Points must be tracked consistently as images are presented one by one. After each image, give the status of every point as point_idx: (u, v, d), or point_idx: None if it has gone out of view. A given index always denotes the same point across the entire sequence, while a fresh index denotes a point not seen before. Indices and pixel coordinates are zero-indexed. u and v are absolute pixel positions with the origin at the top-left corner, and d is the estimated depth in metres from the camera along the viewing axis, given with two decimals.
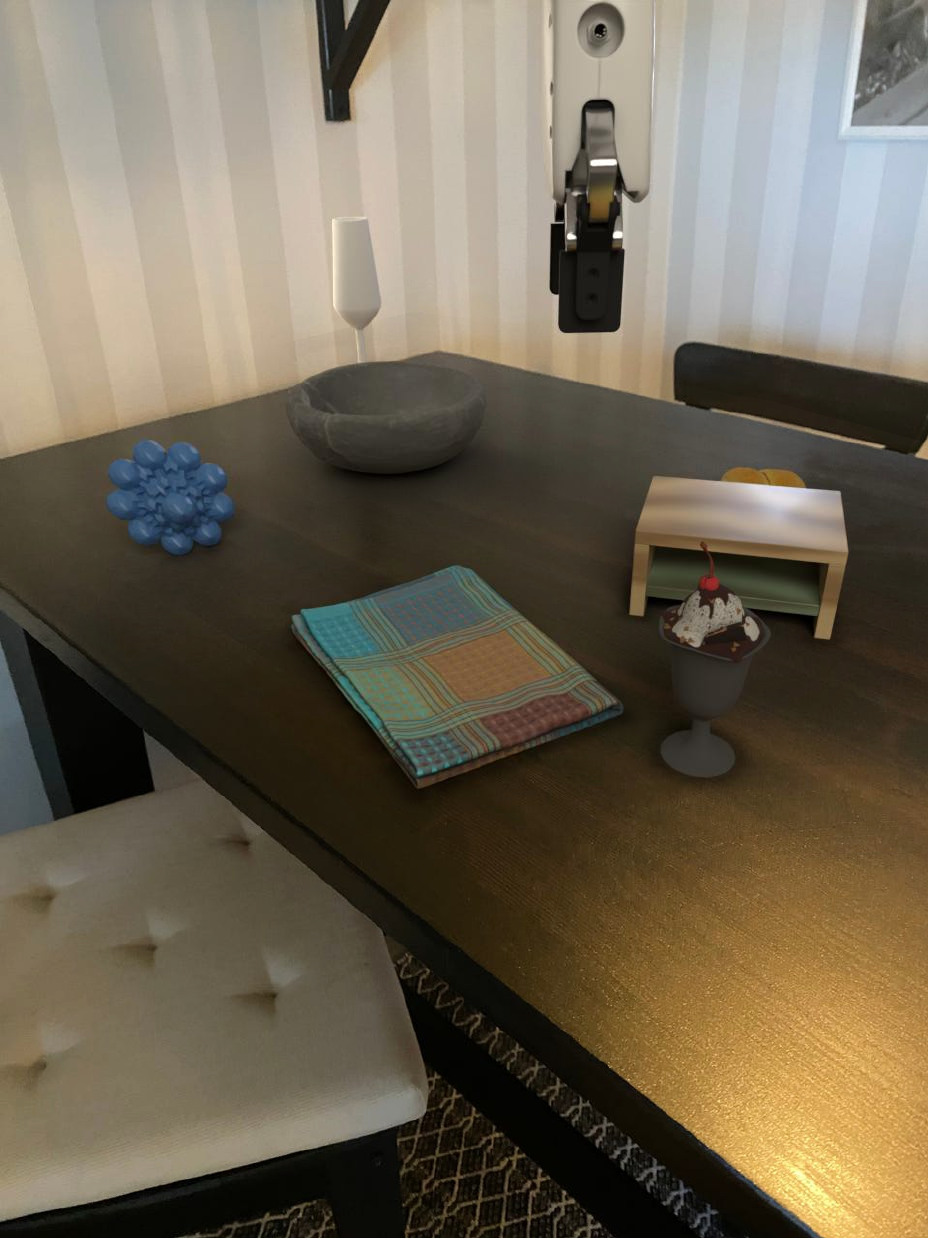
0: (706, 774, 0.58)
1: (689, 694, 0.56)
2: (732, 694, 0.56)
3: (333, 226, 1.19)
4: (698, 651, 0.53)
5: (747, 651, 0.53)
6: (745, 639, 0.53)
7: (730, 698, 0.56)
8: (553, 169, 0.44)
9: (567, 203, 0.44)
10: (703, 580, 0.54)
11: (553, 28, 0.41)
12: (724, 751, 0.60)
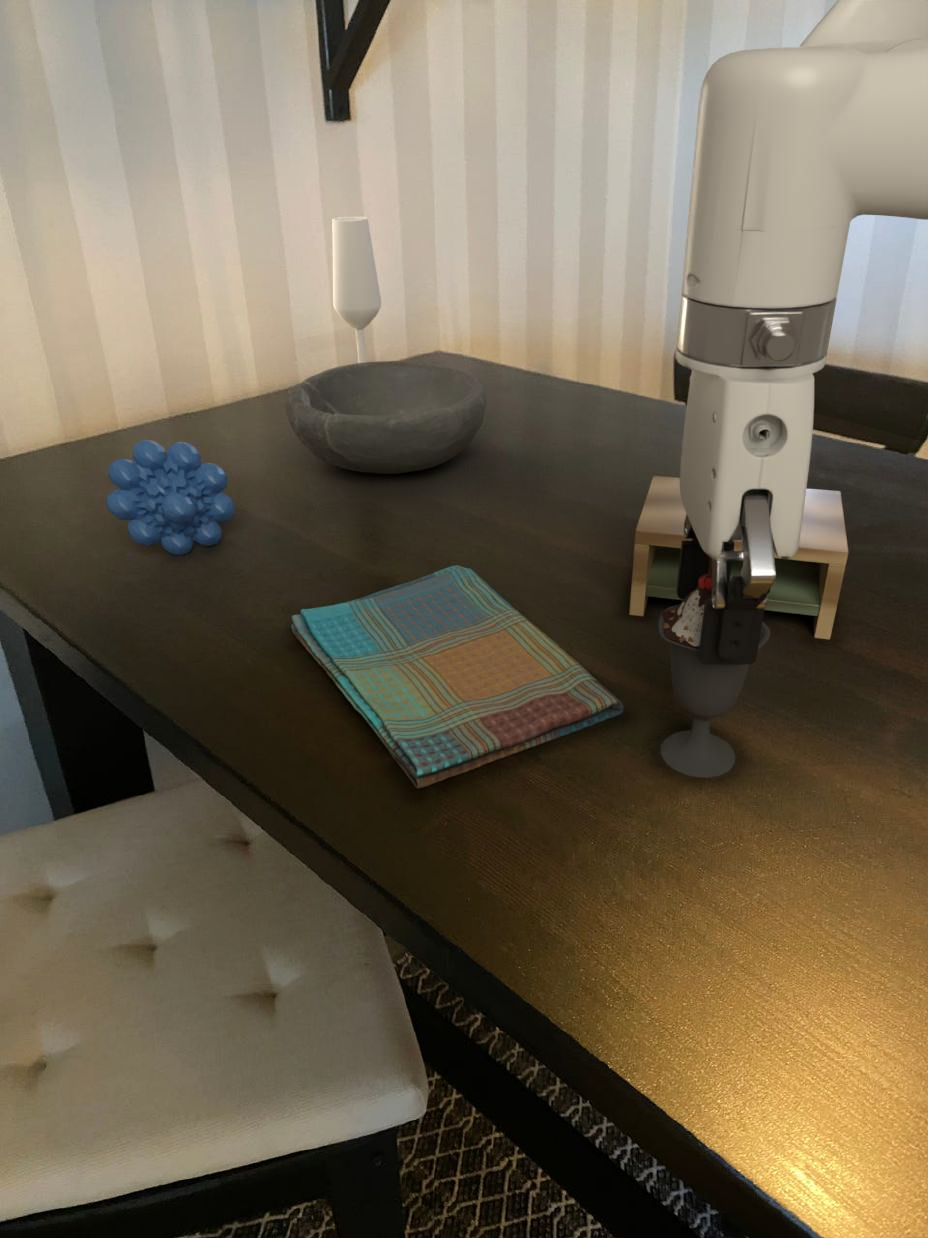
0: (706, 774, 0.58)
1: (689, 694, 0.56)
2: (732, 693, 0.56)
3: (333, 226, 1.19)
4: (698, 650, 0.53)
5: None
6: None
7: (730, 697, 0.56)
8: (710, 537, 0.47)
9: (717, 570, 0.49)
10: (703, 579, 0.54)
11: (718, 428, 0.45)
12: (724, 751, 0.60)
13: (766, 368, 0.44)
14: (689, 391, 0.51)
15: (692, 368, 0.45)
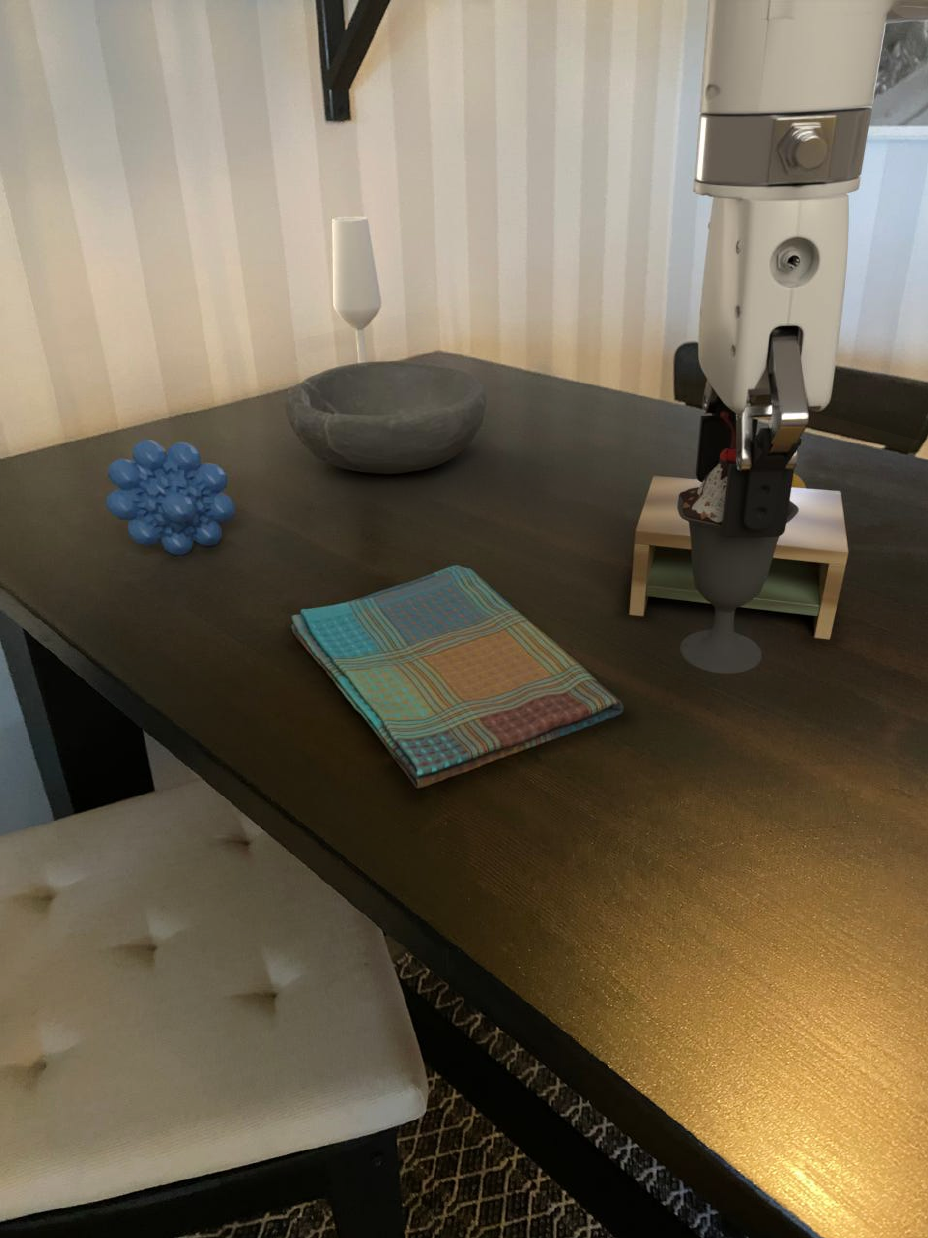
0: (730, 669, 0.54)
1: (711, 579, 0.52)
2: (758, 577, 0.52)
3: (333, 226, 1.19)
4: (721, 525, 0.49)
5: None
6: None
7: (755, 582, 0.52)
8: (734, 386, 0.43)
9: (742, 426, 0.45)
10: (725, 451, 0.50)
11: (743, 257, 0.41)
12: (749, 647, 0.56)
13: (795, 185, 0.40)
14: (708, 238, 0.47)
15: (712, 194, 0.41)
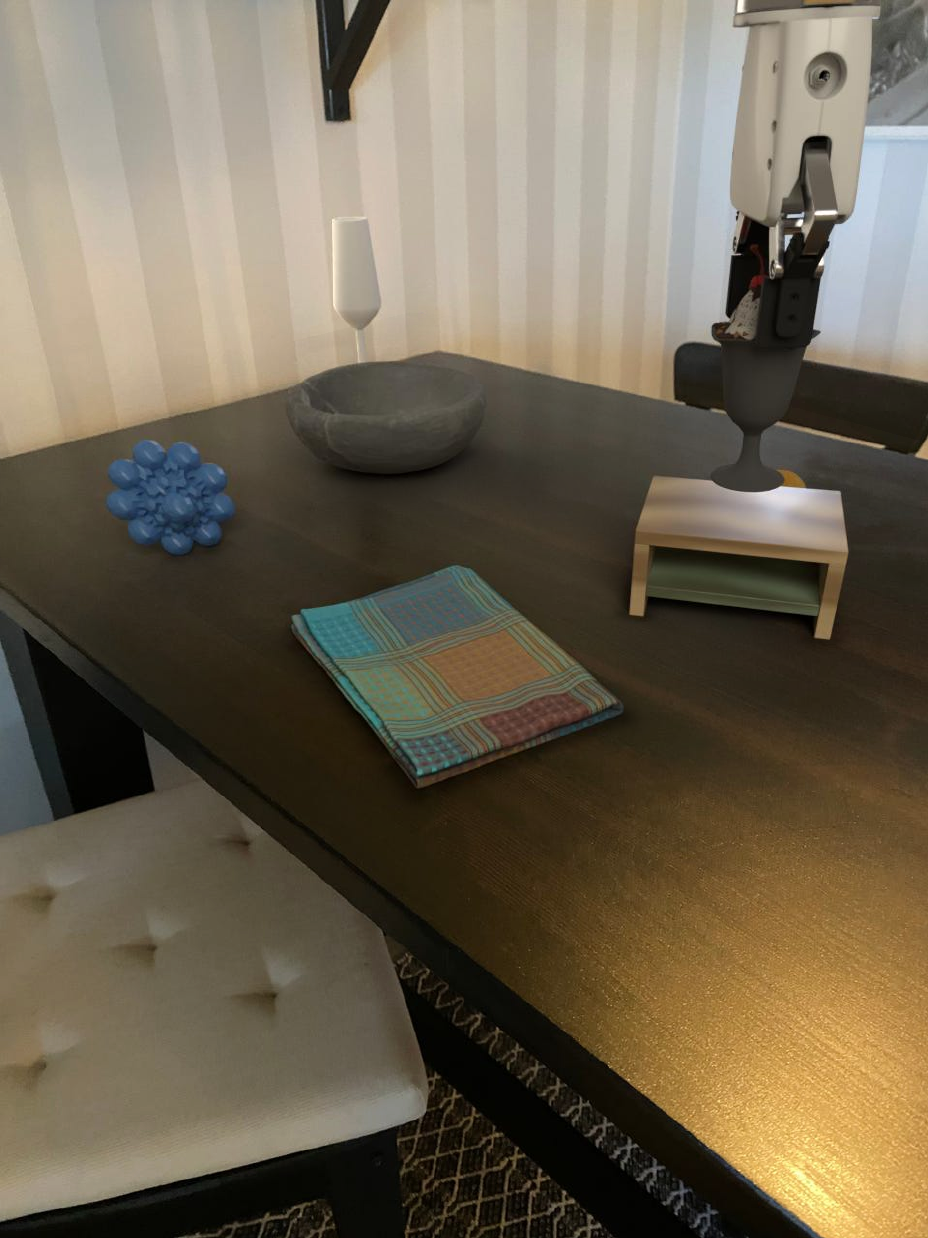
0: (758, 487, 0.60)
1: (742, 399, 0.58)
2: (784, 396, 0.57)
3: (333, 226, 1.19)
4: (753, 340, 0.55)
5: None
6: None
7: (782, 400, 0.58)
8: (770, 196, 0.49)
9: (776, 237, 0.50)
10: (755, 277, 0.56)
11: (779, 74, 0.47)
12: (773, 472, 0.62)
13: (826, 7, 0.46)
14: (742, 78, 0.53)
15: (752, 21, 0.47)
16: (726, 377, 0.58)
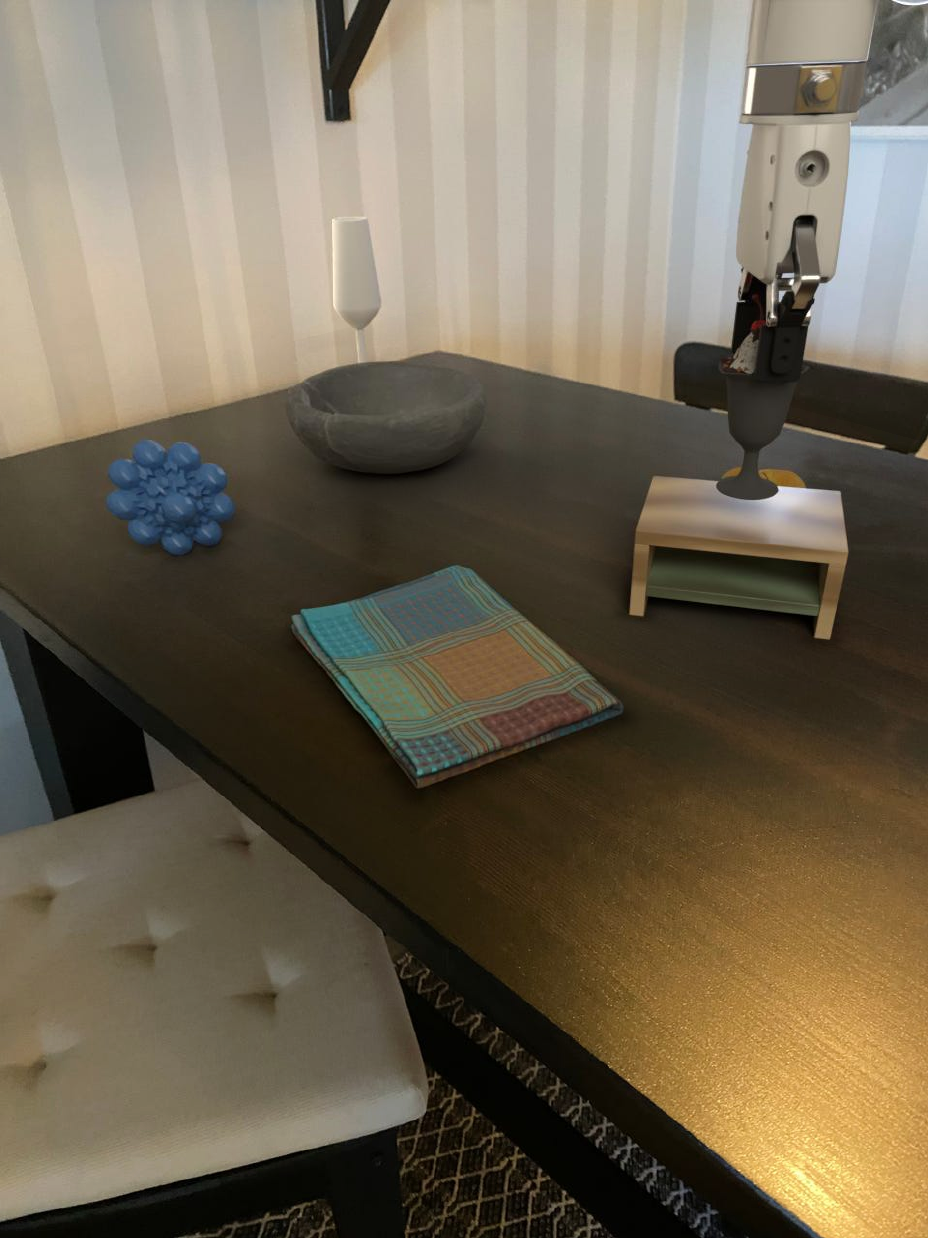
0: (755, 496, 0.72)
1: (743, 422, 0.69)
2: (778, 420, 0.69)
3: (333, 226, 1.19)
4: (752, 375, 0.66)
5: None
6: None
7: (776, 424, 0.69)
8: (767, 261, 0.61)
9: (772, 293, 0.62)
10: (755, 322, 0.67)
11: (775, 166, 0.58)
12: (769, 484, 0.73)
13: (813, 114, 0.57)
14: (747, 161, 0.64)
15: (754, 122, 0.59)
16: (730, 403, 0.70)
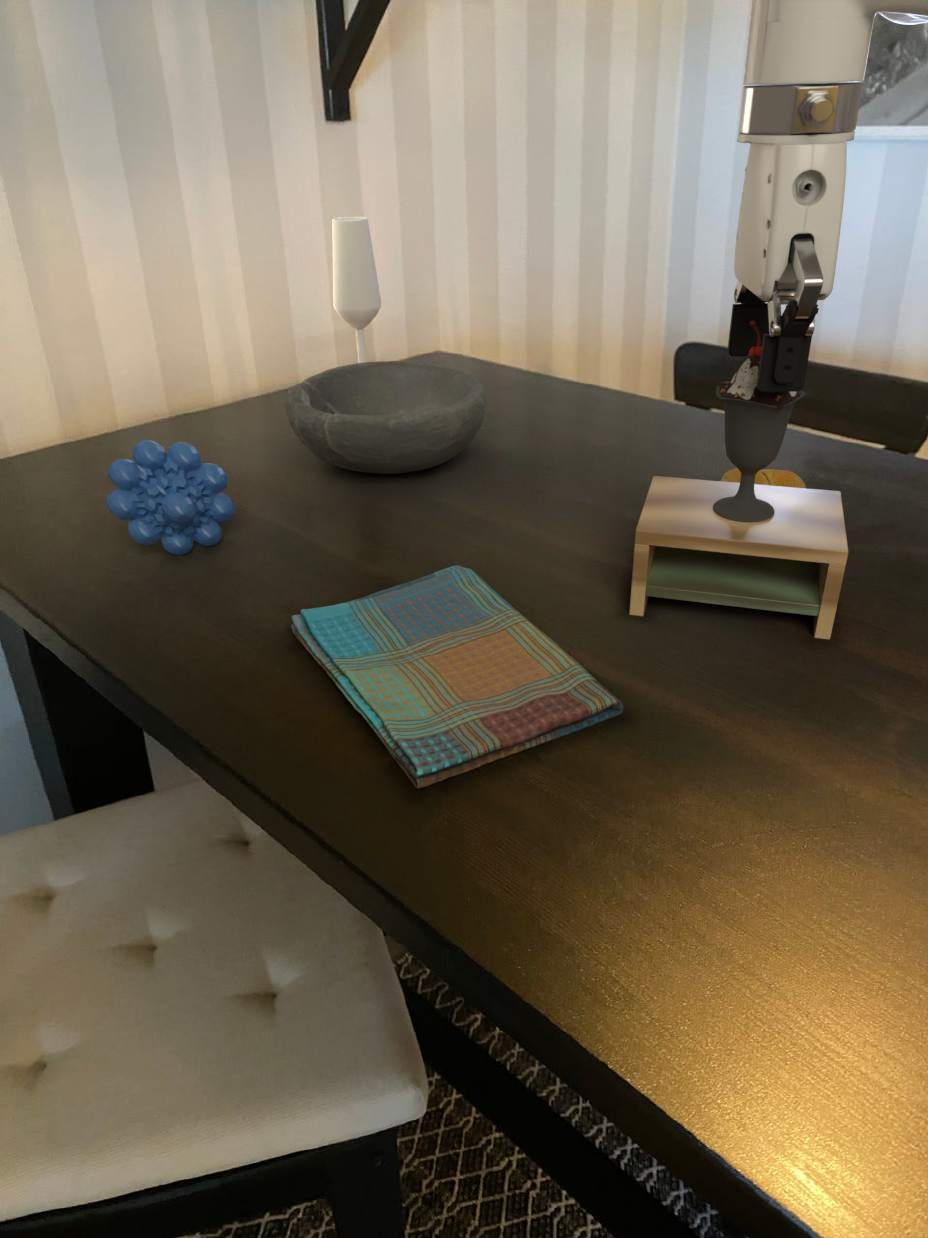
0: (752, 518, 0.73)
1: (740, 446, 0.70)
2: (774, 444, 0.70)
3: (333, 226, 1.19)
4: (749, 401, 0.67)
5: (788, 401, 0.67)
6: (786, 393, 0.68)
7: (772, 448, 0.70)
8: (764, 279, 0.61)
9: (773, 302, 0.62)
10: (752, 348, 0.68)
11: (773, 185, 0.59)
12: (765, 505, 0.74)
13: (810, 134, 0.58)
14: (745, 178, 0.65)
15: (752, 142, 0.59)
16: (727, 427, 0.71)
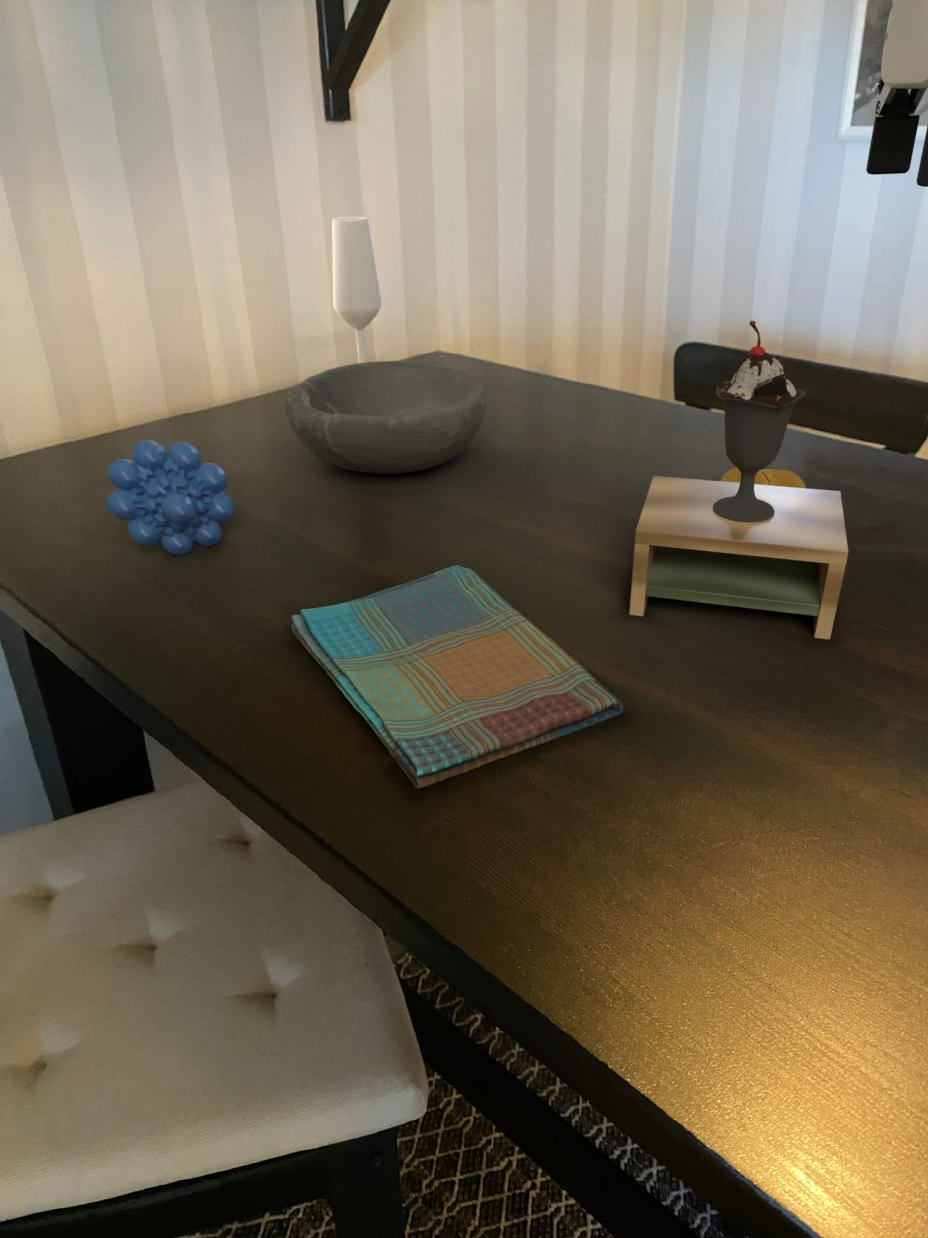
0: (752, 518, 0.73)
1: (740, 446, 0.70)
2: (774, 444, 0.70)
3: (333, 226, 1.19)
4: (749, 401, 0.67)
5: (788, 401, 0.67)
6: (786, 393, 0.68)
7: (772, 448, 0.70)
8: None
9: None
10: (752, 348, 0.68)
11: None
12: (765, 505, 0.74)
13: None
14: None
15: None
16: (727, 427, 0.71)
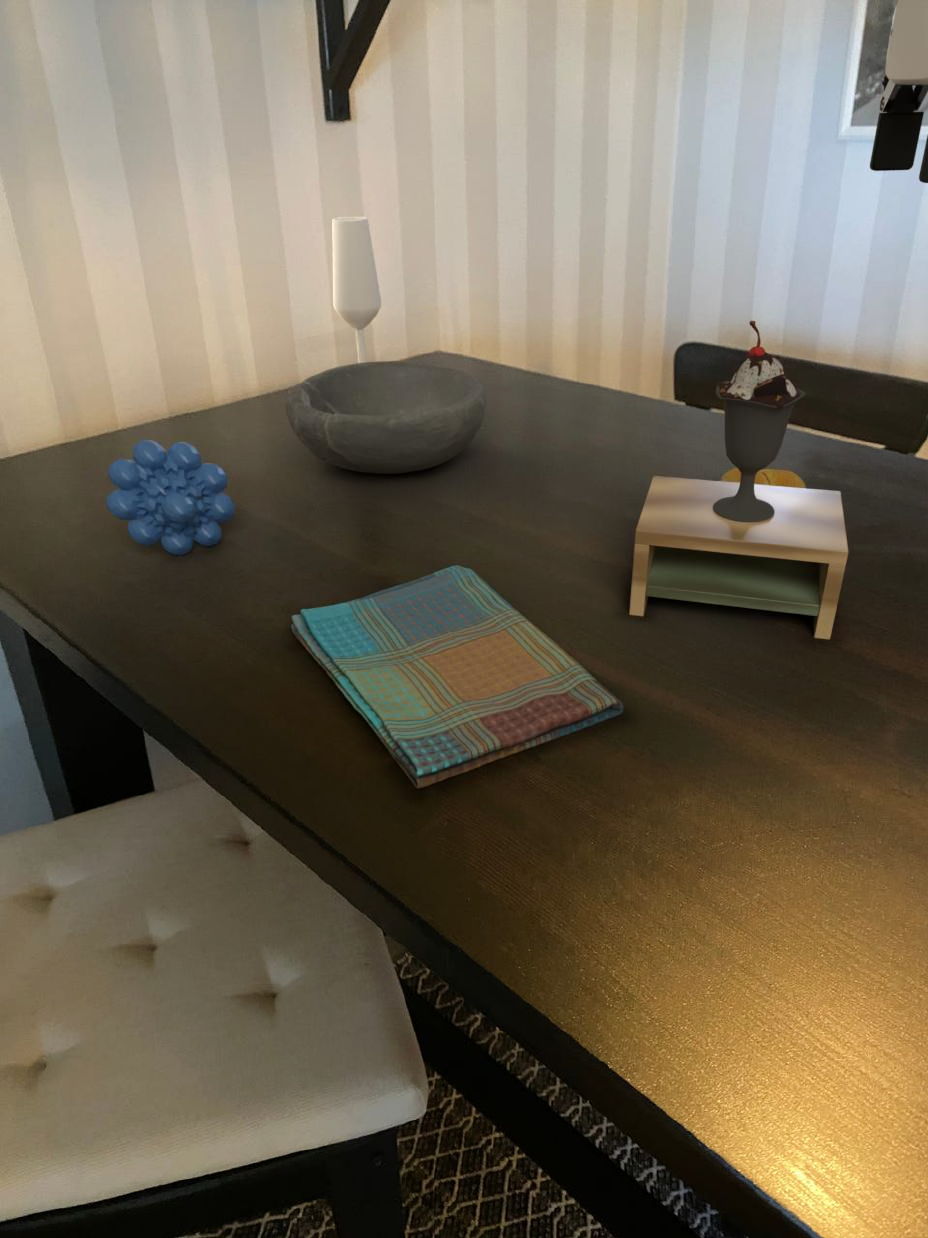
0: (752, 518, 0.73)
1: (740, 446, 0.70)
2: (774, 444, 0.70)
3: (333, 226, 1.19)
4: (749, 401, 0.67)
5: (787, 401, 0.67)
6: (786, 393, 0.68)
7: (772, 448, 0.70)
8: None
9: None
10: (752, 348, 0.68)
11: None
12: (765, 505, 0.74)
13: None
14: None
15: None
16: (727, 427, 0.71)
